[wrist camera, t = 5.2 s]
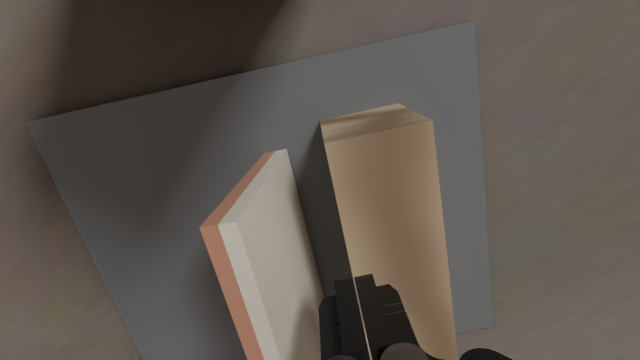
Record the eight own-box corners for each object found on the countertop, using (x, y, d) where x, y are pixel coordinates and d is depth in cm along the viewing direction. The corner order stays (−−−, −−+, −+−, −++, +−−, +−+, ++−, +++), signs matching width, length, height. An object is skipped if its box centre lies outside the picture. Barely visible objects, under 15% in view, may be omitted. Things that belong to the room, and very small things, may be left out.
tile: (310, 305, 22) (227, 430, 15) (268, 150, 18) (140, 224, 12) (370, 314, 20) (305, 461, 13) (335, 144, 17) (227, 228, 10)
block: (360, 313, 22) (375, 384, 17) (319, 120, 18) (324, 143, 13) (425, 300, 21) (459, 368, 17) (398, 103, 17) (432, 120, 13)
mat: (160, 386, 23) (157, 392, 23) (30, 120, 18) (24, 122, 17) (490, 322, 23) (493, 326, 22) (471, 21, 17) (475, 20, 16)
